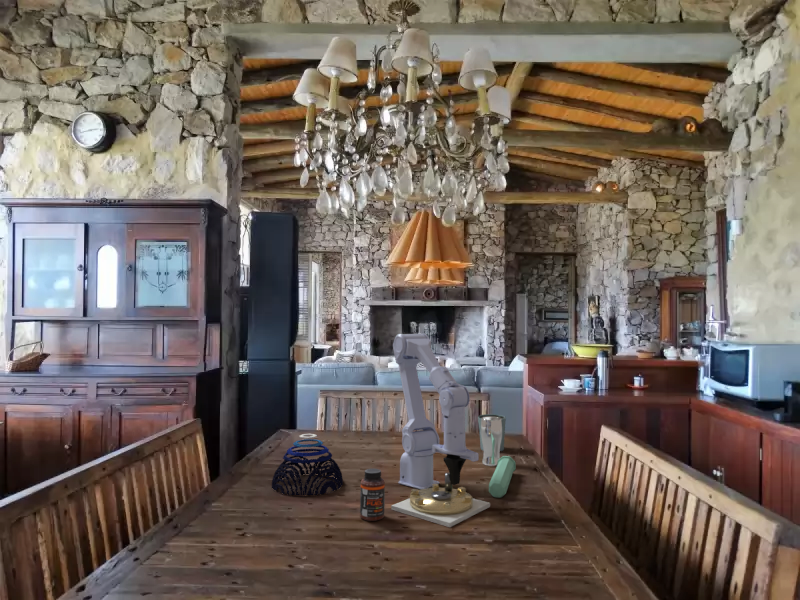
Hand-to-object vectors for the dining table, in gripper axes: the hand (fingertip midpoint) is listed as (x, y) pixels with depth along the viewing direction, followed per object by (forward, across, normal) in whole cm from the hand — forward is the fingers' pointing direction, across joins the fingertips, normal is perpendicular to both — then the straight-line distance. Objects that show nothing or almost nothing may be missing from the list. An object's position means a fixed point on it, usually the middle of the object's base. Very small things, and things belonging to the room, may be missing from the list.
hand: (455, 483), depth 144 cm
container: (+5, 0, -21) cm, 21 cm away
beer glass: (+5, +16, -37) cm, 40 cm away
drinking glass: (+4, +28, -53) cm, 60 cm away
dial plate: (+5, -1, +7) cm, 8 cm away
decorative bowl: (+5, +38, +20) cm, 44 cm away
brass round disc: (+3, -1, +7) cm, 7 cm away
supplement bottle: (+5, +6, +24) cm, 25 cm away
